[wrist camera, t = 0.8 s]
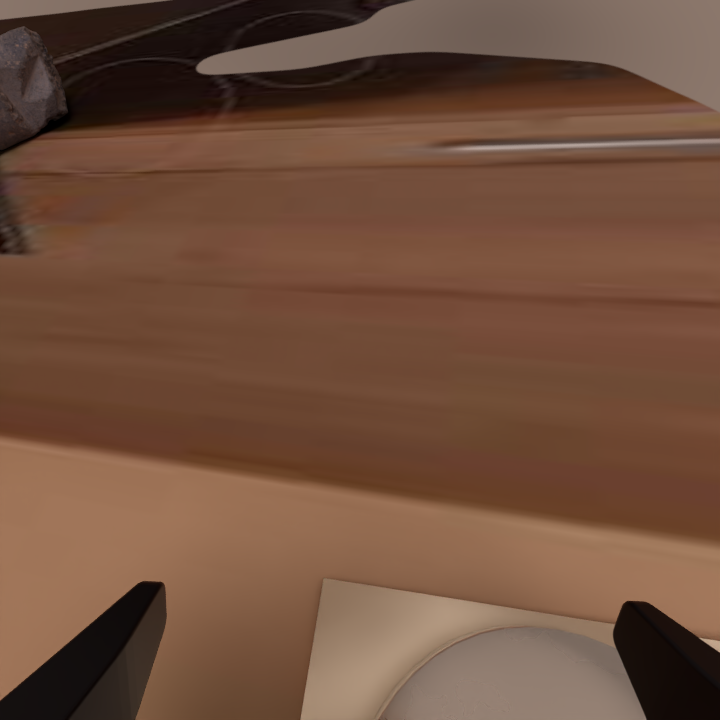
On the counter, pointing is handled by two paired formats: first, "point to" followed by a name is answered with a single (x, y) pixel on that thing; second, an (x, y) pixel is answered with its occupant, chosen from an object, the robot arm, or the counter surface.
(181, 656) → the counter surface
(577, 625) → the base plate
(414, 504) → the counter surface
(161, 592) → the robot arm
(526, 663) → the handwheel
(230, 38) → the counter surface
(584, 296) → the counter surface
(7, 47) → the perforated stone tool
